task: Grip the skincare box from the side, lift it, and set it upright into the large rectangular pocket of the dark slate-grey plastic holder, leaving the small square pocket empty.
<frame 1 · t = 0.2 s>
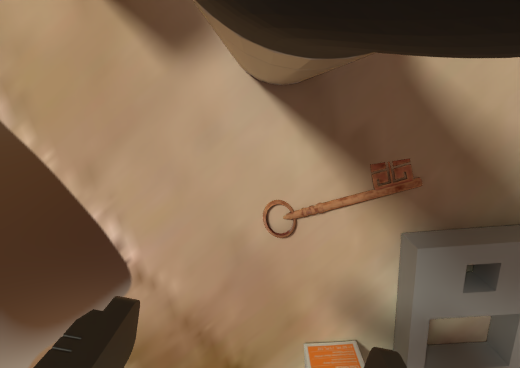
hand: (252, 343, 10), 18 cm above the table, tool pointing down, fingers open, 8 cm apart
holder: (454, 297, 30), on the table
key: (336, 191, 27), on the table
skincare box: (328, 353, 33), on the table
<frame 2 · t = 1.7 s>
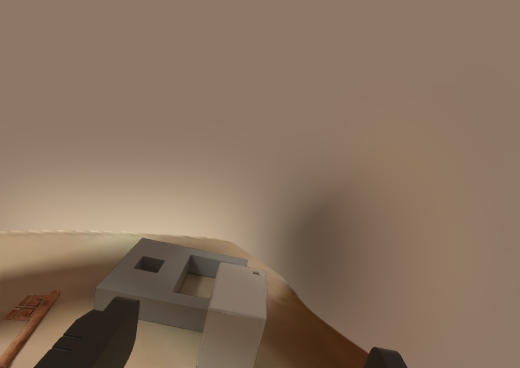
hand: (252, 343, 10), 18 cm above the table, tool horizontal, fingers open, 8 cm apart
holder: (180, 290, 37), on the table
key: (2, 353, 25), on the table
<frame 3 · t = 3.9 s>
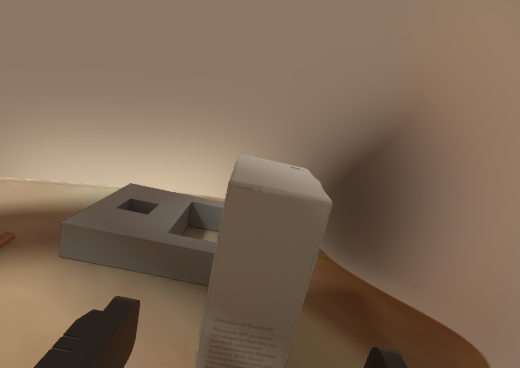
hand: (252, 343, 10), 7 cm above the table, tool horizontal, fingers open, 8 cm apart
holder: (179, 242, 29), on the table
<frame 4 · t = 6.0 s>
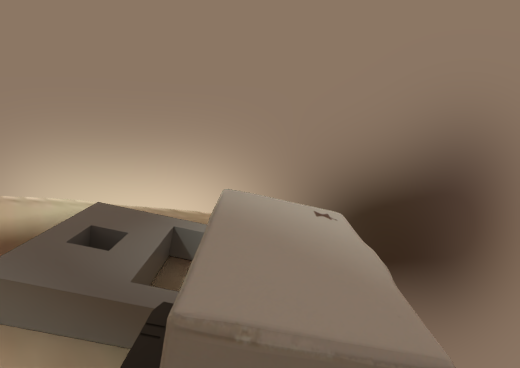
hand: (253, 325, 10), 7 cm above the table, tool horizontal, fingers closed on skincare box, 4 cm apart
holder: (154, 283, 22), on the table
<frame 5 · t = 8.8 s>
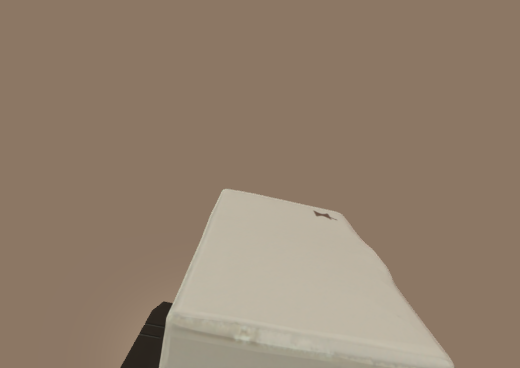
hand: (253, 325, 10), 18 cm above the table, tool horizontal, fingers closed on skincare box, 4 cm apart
when the fingers open (8 cm above the table, at t = 11.8 s): skincare box drops 1 cm, resting in holder.
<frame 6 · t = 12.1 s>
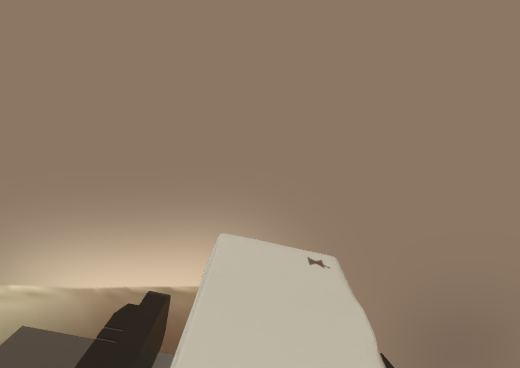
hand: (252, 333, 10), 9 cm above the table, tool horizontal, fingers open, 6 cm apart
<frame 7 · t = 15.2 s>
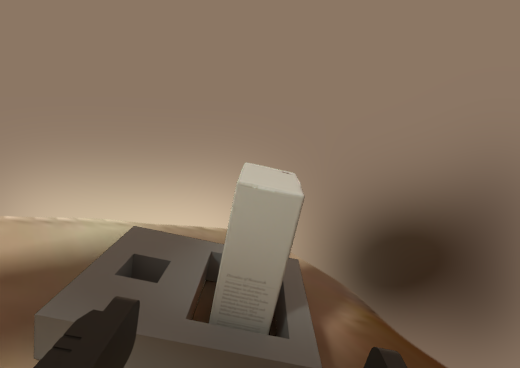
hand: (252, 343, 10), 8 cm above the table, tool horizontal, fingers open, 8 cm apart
holder: (197, 312, 22), on the table
skincare box: (236, 323, 22), resting in holder
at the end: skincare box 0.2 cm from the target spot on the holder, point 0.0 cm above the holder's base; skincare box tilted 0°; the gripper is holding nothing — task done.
